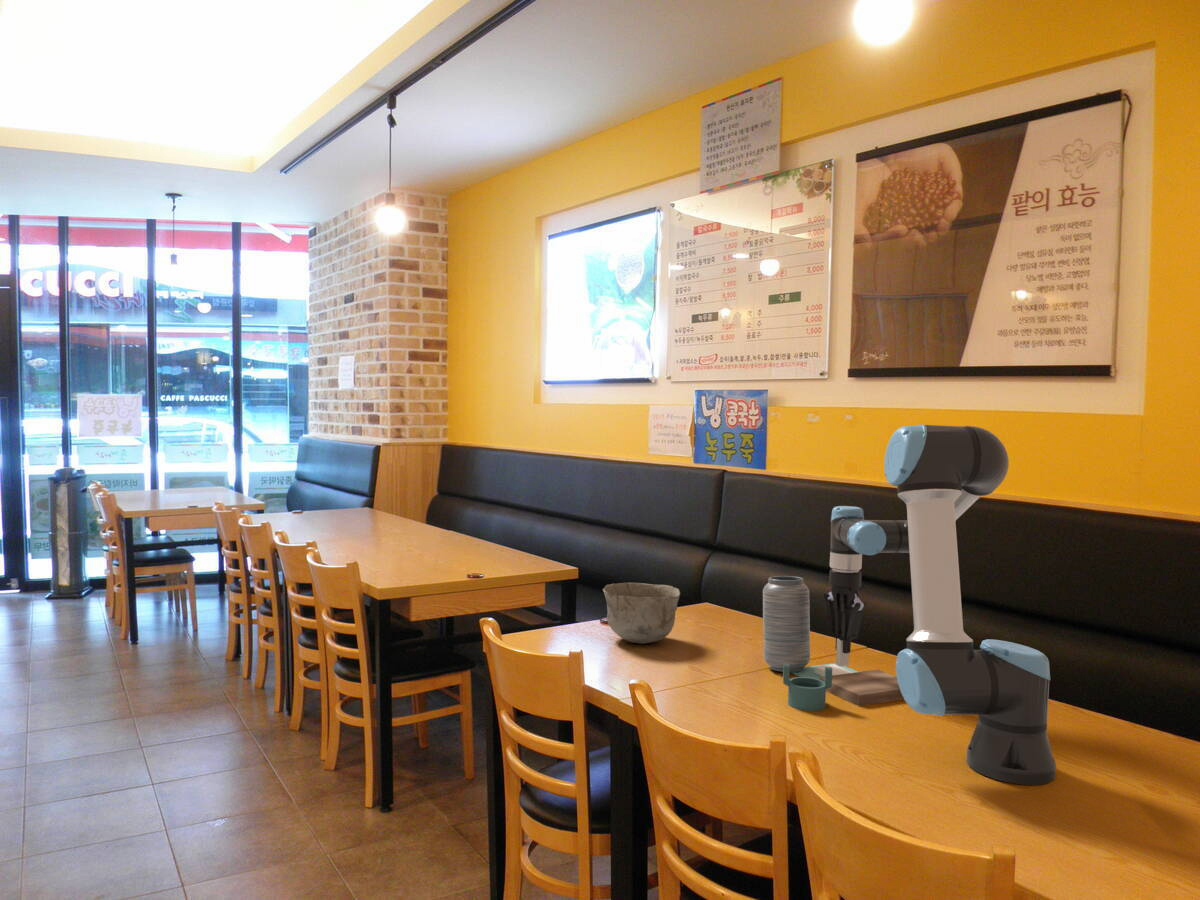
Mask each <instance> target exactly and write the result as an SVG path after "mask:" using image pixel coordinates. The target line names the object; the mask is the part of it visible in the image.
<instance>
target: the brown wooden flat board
mask: <svg viewBox="0 0 1200 900" xmlns="http://www.w3.org/2000/svg"><path fill="white" fill-rule="evenodd" d="M819 680H822V681H825V677H819ZM826 693H830V694H832V695H834V696H836V697H838V698H840V699H842V700H845V701H847V702H849V703H851V704H852V705H855V706H857V707H862V706H869V705H874V704H875V705H876V704H882V703H887V702H895V701H901V700H905V699H904V698H903V696H902V693H901V691H900V688H899V685H898V681H897V676H896V675H893V674H890V673H887V672H885V671H882V670H881V669H873V670H872V669H870V670H863V671H858V672H856V673H848V674H841V675H833V676H832V687H830V688H827V689H826Z"/></svg>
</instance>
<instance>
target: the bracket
mask: <svg viewBox="0 0 1200 900" xmlns="http://www.w3.org/2000/svg"><path fill="white" fill-rule="evenodd" d="M789 670H790V665H789V664H783V672H782V683H783V685H785V686H787V687H788V688H787V689H788V690H787V704H788V705H787V706H789V707H790V706H791V708H792V709H795V710H798V711H803V712H804V711H805V712H819V711H823V710H825V709H826V699H827V695H826V693H827V691H826V689H827V688H830V687H832V667H825V681H822V680H819V679H815V678H810V677H799V676H796V677H792V678H790V672H789Z"/></svg>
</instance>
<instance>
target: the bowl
mask: <svg viewBox="0 0 1200 900" xmlns="http://www.w3.org/2000/svg"><path fill="white" fill-rule="evenodd" d="M602 591H603V594H604V597H605V601H606V609H607V618H606V619H607V624H608V626H609V627H610V629H611V630H612V631H613V633H614V634H616V635H617V636H619V637H620V638H621V639H622V640H624V641H627V642H630V643H634V644H635V643H636V644H641V645H642V644H644V645H645V644H649V643H655V642H658V641H661V640H663V639H665V638H667V636H669V634H670V633H671V632H672V630H673V628H674V625H675V620H676V611H677V610H678V608H677V607H678V602H679V600H680V596H681V592H680V589H679V588H677V587H674V586H672V585H668V584H651V583H642V582H618V583H610V584H606V585H605V586H604V588H602Z"/></svg>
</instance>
